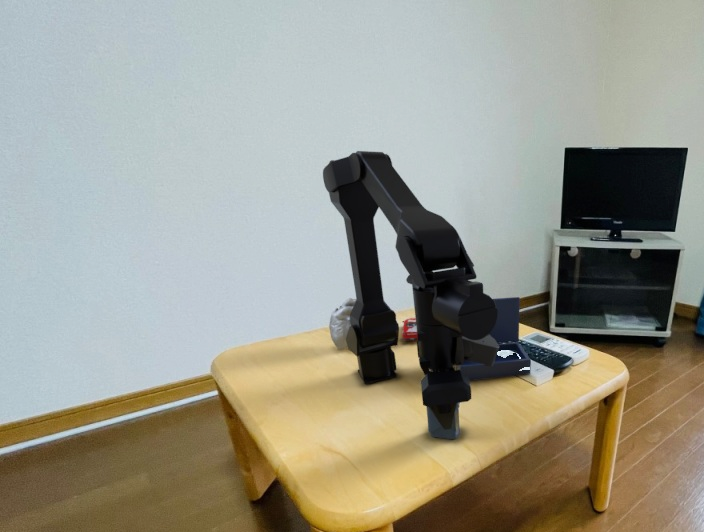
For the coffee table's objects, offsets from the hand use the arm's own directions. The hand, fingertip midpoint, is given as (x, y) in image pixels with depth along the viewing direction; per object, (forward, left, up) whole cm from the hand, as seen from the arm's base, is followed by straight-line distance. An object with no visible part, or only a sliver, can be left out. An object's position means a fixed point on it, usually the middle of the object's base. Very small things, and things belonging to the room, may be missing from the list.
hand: (444, 414), depth 61 cm
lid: (+19, +22, +5) cm, 29 cm away
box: (+18, +17, -4) cm, 25 cm away
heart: (-6, +45, -4) cm, 46 cm away
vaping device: (0, 0, -4) cm, 4 cm away
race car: (+10, +44, -4) cm, 46 cm away
